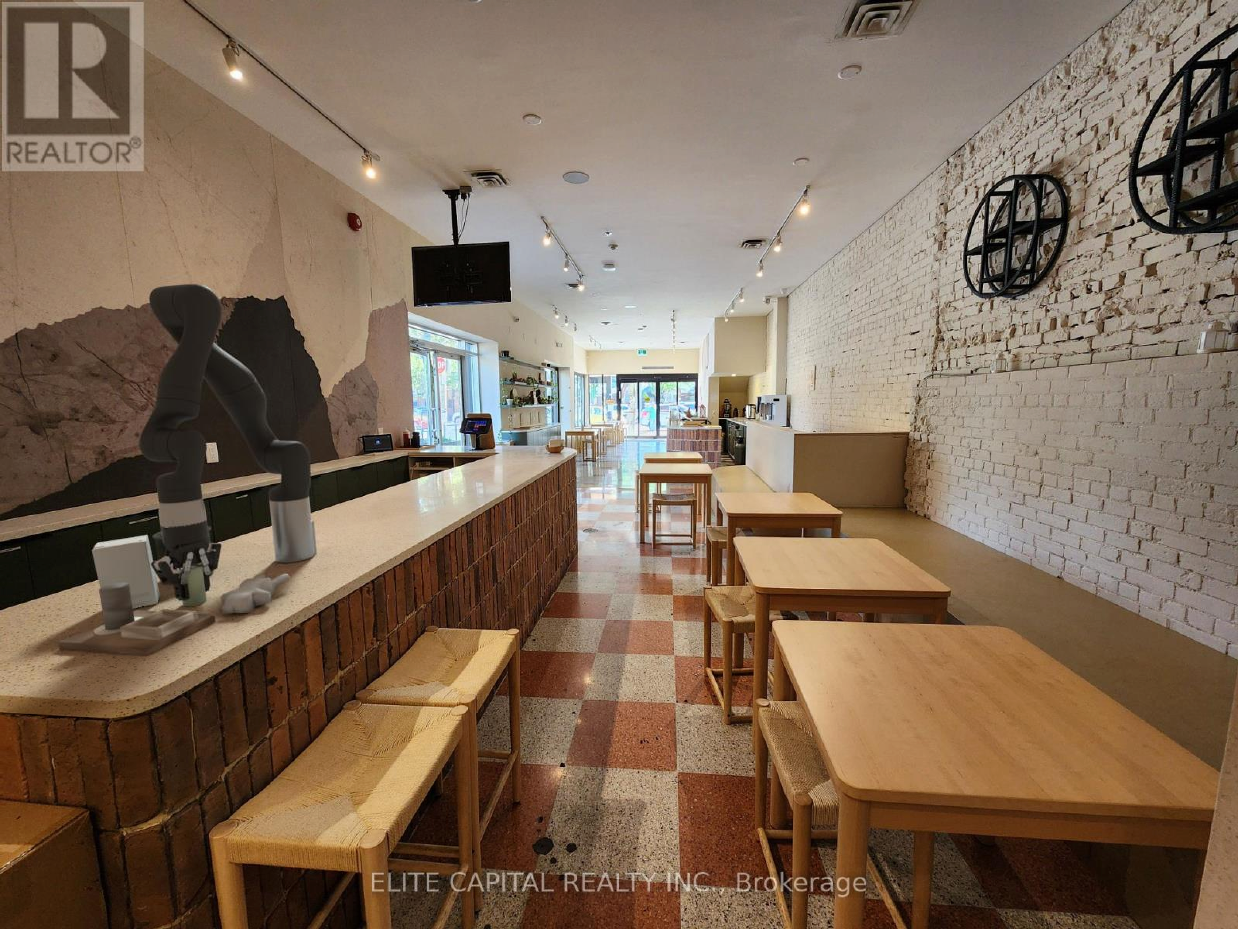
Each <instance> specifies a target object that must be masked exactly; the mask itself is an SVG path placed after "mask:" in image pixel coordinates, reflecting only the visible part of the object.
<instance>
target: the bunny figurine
mask: <svg viewBox="0 0 1238 929" xmlns="http://www.w3.org/2000/svg"><path fill="white" fill-rule="evenodd" d="M289 580H291V577H290V575H289V574H288V573H282V574H280V575H277V576H275V577H274V578H272V579H271V578H270V577H266V575H265V574H256V575H254V577H253V578H247V579H244V580H243V581H242V582H241V583H240V584H239V586H238V588H236V589H234V590H231V591H229V592H225V593H222V595H221V596H220V600H221V603H222V605H223V606H221V609H222V613H223V615H224V614H225V615H226V614H228V615H229V614H247V613H249V614H250V613H252V612H253V611H254V610H255V607H258V606H261V605H265V604H268V603H271V602H272V601H273V600H272V597H273V596H274V591H275V588H276V586H277V585H280V584H282V583H285V582H287V581H289Z"/></svg>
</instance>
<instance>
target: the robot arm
mask: <svg viewBox="0 0 1238 929" xmlns="http://www.w3.org/2000/svg"><path fill="white" fill-rule="evenodd" d="M148 297H149V298H148V299H149V305H150V308H151V311H152V312H153V314H154V316H155V317H156V319H157V320H158V322H159V323H160V324H161V326H162V327H163V328H164V329H165V330H166V332H167V333H168V334H169V335H170V336H171V338H172V339H173V340H174V341H175V342H176V343H177V344H178V345H177V347H176V349H175V350H174V352H173V353H172V355H171V356H170V358H168V361H167V362H166V364H164V365H165V366H164V367H163V368H162V371H161V372H160V374H159V378H158V381H157V382H158V383H157V389H156V397H155V405H154V408H153V410H152V412H151V413H150V415H149V417H148V419H147V422H146V423H145V426H144V427H143V429H142V431H141V433H140V436H139V442H138V447H139V450H140V452H141V454H142V455H143V457H144V458H145V459H147V460H149V461H151V462H156V463H167V462H169V463H171V462H177V464H176V468H175V470H174V471H172V472H167V473H164V474H161V475H159V476H158V477H157V478H156V481H155V482H156V492H157V493H156V494H157V498H158V518H159V525H160V526H159V527H160V532H161V533H162V541H163V544H164V545H165V547H166V552H165V557H163V558H162V559H160V560H159V561H158V560H153V562H152V563H151V566H152V568H153V569H154V571H155V573H156V577H157V579H159V581H160V582H161V584H162V585H163V586H164V585H167V586H169V585H171V586H173V589H174V590H173V591H174V596H175V599H177V600H178V601H181V602H182V601H186V600H188V599H189V590H188V583H186V581H187V574H188V573H189V572H190V567H191V566H202V568H203V576H204V583H205V591H206V593H207V592H210V588H211V581H210V575H209V574H210V572H211V571H212V570H214V571H215V570H217V569H218V567H219V561H220V556H221V551H222V543H218V542H217V543H216V542H215V543H214V542H212V543H209V542H208V541H207V538H208V537H209V533H208V526H209V525H208V518H207V512H206V506H205V503H204V499H203V490H202V485H201V484H202V483H201V478H202V472H203V469H204V464H205V459H206V456H207V448H208V447H207V442H206V439H205V437H204V436H203V434H202V433H201V432H199V430H196V429H194V428H178V427H179V425H180V424H181V423H182V422H185V421H190V420H193V419H196V418H197V417H199V413H200V409H201V408H200V407H201V399H202V398H201V397H202V391H203V390H202V389H203V381H204V380H205V381H206V383H207V384H208V385H209V387H210V389H211V391H212V393H213V394H214V396H215V397H216V399H218V401H219V403H220V404H221V406H222V407H223V408H224V410H225V411H226V412H227V413H228V415H229V417H230V418H231V420H232V421H233V423H234V424H235V425H236V426H235V427H237V429H238V430H239V431H240V433H241V435H242V437H243V439H244V440H245V442H246V444H247V445H248V448H249V449H250V452H251V453H252V455H253V458H254V459H255V462H256V463H257V464H258V465H259V467H260V468H261V469H262V470H263V471H265V473H268V474H273V475H280V483H279V485H277V486H275V487H272V488H271V489H269V490H268V499H269V501H268V502H269V510H270V518H271V520H270V521H271V529H272V530H271V531H272V541H273V549H274V558H275V559H274V560H275V562H277V563H281V564H282V563H283V564H284V563H287V564H288V563H296V562H301V561H304V560H307V559H308V560H309V559H310V558H312V557H313V556H315V554H317V541H316V530H315V521H313V520H312V514H311V504H310V502H311V501H310V494H309V493H310V488H311V486H312V475H311V474H312V473H311V455H310V452H309V449H308V448H307V446H306V445H305V444H304V443H303V442H301V441H295V440H279V439H278V437H276V435H275V434H274V432H273V431H272V429H271V428H270V426H269V424H268V421H267V409H268V408H267V406H268V404H267V396H266V393H265V392H264V390H263V388H262V386H261V384H260V383H259V382H258V380H257V378H256V377H255V375H254V373H253V372H252V371H251V370H250V369H249V368H248V367H247V366H245V365H244V364H243V363H242V362H241V361H240V360H238V359H236V358H235V357H233V356H232V355H231V354H229V353H228V352H226V351H225V350H223V349H222V348H221V347H220V346H218V344H217V343H215V339H216V336H217V333H218V330H219V327H220V324H221V321H222V314H223V310H222V309H223V307H222V303H221V301H220V298H219V297H218V295H217V294H216V292H214V291H213V290H212V289H211V288H210V287H208V286H206V285H203V284H199V283H186V284H185V283H184V284H183V283H182V284H174V285H164V286H163V285H162V286H158V287H155V288H153V289H151V291H150V294H149V296H148ZM205 554H206V555H205ZM211 559H212V564H211ZM170 562H171V564H170ZM170 566H171V568H170ZM179 568H183V569H179ZM179 574H180V578H179Z"/></svg>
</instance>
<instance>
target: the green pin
mask: <svg viewBox="0 0 1238 929" xmlns="http://www.w3.org/2000/svg"><path fill="white" fill-rule="evenodd" d="M181 569H183V568H181ZM179 578H180V574H179ZM186 583H188V590H189V599H188V600H186V601H181V602H182V606H183V607H184V606H191V607H195V606H200V605H202V603H203V602H205V603H207V599H208V598H207V592H206V591H205V583H204V576H203V568H202V566H191V567H190V572H189V573H188V574H187V581H186ZM199 604H200V605H199ZM203 604H204V603H203Z"/></svg>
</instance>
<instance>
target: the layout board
mask: <svg viewBox="0 0 1238 929" xmlns="http://www.w3.org/2000/svg"><path fill="white" fill-rule="evenodd" d="M98 591H99V592H98V593H99V597H100V598H99V599H100V605H101V610H102V616H103V622H104V623H102V624H99V625H96V626H93V627H92V628H91V627H90V628H88V629H86V630H84V631H81V632H79V633H77V634H73V635H71V636H68V637H65V638H64V639H62V640H59V641H57V644H58V648H59V650H66V651H76V650H77V651H78V652H92V653H102V654H103V653H104V654H119V655H131V656H145V657H146V656H148V655H151V654H153V653H155V652H157V651H158V650H161V649H163V648H165V647H167V646H170V645H172V644H174V643H175V642H177V641H179V640H181V639H183V638H185V637H188V636H190V635H191V634H193V633H196V632H197V631H199V630H202V629H203V628H205V627H207V626H209V625H212V624H214V623H215V622H216V616H215V614H210V613H209V614H208V613H198V611H197V610H186V609H185V610H184V609H183V610H182V609H168V608H167V609H166V608H162V609H160V610H142V609H140V610H139V609H136V610H134V609H133V606H132V600H131V593H130V587H129V583H117V584H112V585H108V586H104V587H102V588H100V587H99V589H98ZM79 650H80V651H79Z"/></svg>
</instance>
